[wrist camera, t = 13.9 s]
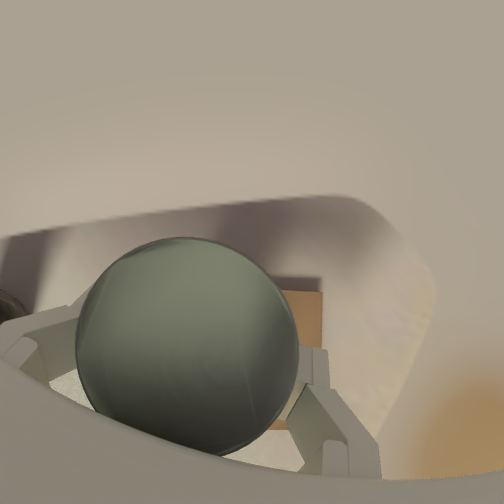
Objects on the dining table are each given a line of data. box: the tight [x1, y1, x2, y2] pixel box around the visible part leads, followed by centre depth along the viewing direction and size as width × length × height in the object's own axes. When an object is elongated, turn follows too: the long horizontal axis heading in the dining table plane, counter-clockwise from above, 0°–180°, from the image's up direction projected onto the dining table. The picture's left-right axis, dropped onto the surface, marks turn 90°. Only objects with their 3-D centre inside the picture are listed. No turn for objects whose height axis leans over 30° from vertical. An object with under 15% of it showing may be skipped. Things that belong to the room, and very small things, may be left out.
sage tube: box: [75, 237, 299, 457], centre depth 11 cm, size 5×5×10 cm
